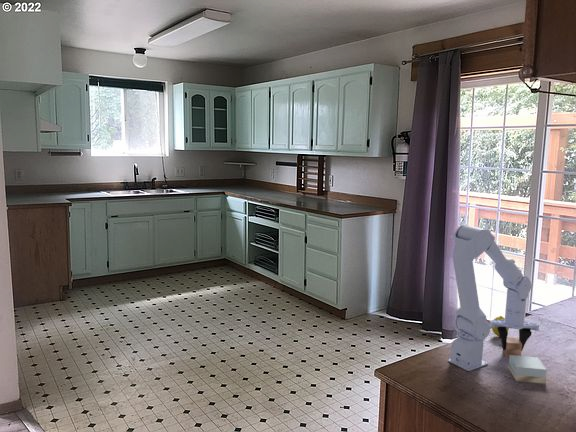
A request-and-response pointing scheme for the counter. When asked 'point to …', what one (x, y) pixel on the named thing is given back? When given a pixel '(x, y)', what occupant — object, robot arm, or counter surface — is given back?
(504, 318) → the lemon
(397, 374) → the counter surface
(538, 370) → the tower top
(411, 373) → the counter surface
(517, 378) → the tower base
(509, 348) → the block
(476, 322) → the robot arm
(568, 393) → the counter surface
